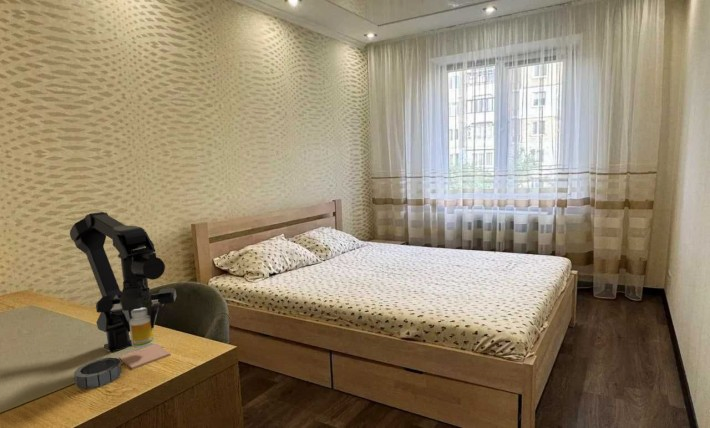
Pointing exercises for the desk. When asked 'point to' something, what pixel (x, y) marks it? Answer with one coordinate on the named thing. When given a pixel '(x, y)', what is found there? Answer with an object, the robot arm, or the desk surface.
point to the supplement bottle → (141, 328)
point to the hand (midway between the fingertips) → (141, 329)
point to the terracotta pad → (144, 356)
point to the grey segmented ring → (90, 376)
